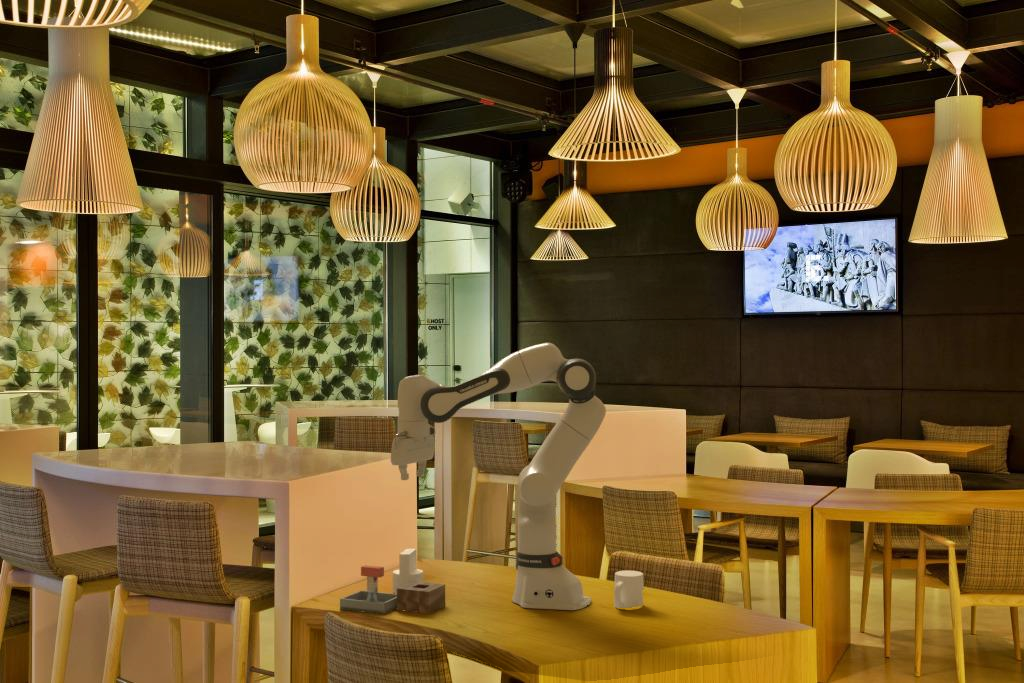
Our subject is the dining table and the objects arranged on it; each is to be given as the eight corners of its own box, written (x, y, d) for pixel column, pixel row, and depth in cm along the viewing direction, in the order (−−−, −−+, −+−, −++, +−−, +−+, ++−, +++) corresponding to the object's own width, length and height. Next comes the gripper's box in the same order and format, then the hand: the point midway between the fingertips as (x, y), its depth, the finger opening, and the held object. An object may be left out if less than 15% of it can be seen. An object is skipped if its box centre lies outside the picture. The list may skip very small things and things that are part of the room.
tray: (403, 605, 298) (403, 594, 298) (383, 614, 288) (383, 603, 288) (360, 600, 304) (360, 590, 304) (340, 609, 293) (340, 598, 293)
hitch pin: (384, 604, 296) (384, 566, 296) (378, 606, 293) (379, 568, 293) (365, 602, 298) (365, 565, 299) (360, 604, 296) (360, 567, 296)
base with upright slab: (418, 595, 310) (418, 554, 310) (389, 594, 311) (389, 553, 311) (426, 588, 319) (426, 549, 319) (397, 587, 320) (397, 548, 320)
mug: (624, 568, 303) (649, 572, 299) (624, 601, 303) (649, 605, 298) (604, 576, 293) (629, 579, 289) (604, 609, 293) (629, 614, 289)
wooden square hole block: (445, 605, 298) (445, 584, 298) (428, 613, 289) (428, 591, 289) (414, 602, 302) (414, 581, 302) (396, 610, 293) (396, 588, 293)
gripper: (404, 433, 295) (404, 482, 295) (438, 428, 314) (438, 474, 314) (385, 432, 297) (385, 481, 297) (419, 427, 316) (419, 473, 316)
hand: (412, 478), depth 306 cm, fingers open, 8 cm apart
